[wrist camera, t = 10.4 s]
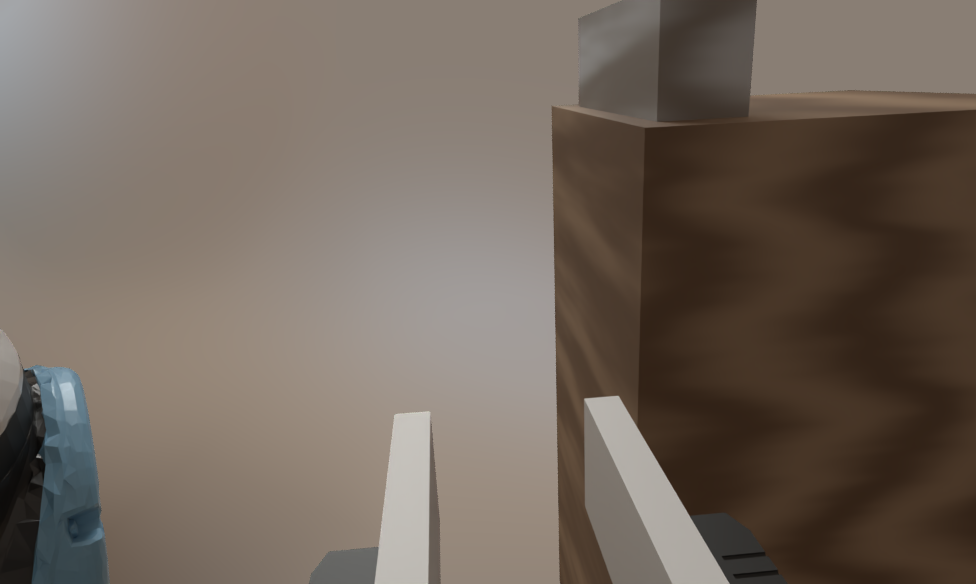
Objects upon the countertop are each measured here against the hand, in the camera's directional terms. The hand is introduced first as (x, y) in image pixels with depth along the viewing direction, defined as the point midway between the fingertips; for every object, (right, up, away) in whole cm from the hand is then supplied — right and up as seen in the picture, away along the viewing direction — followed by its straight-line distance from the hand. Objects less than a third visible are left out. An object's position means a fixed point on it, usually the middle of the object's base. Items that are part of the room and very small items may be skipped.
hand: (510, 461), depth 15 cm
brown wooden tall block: (+13, -17, +22) cm, 31 cm away
